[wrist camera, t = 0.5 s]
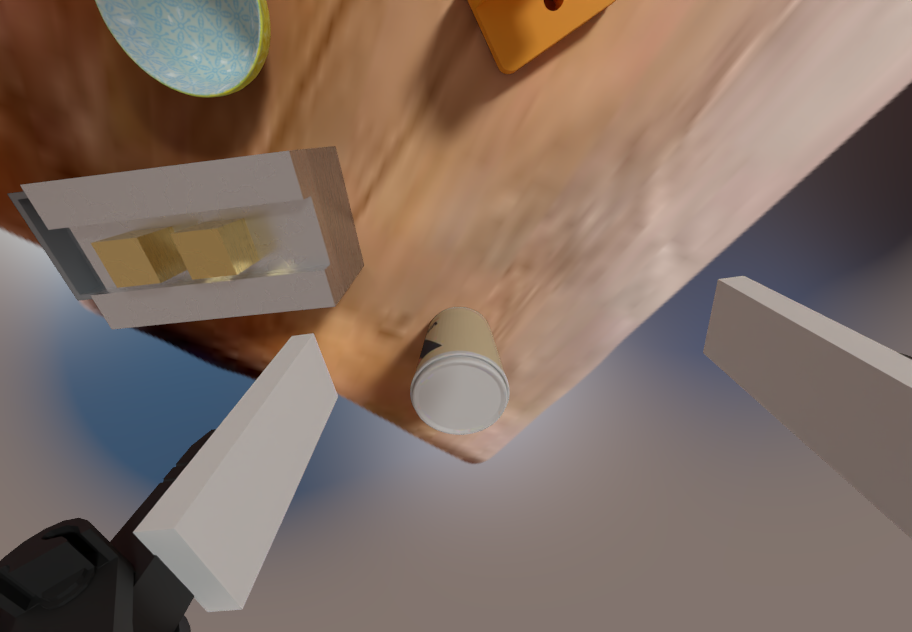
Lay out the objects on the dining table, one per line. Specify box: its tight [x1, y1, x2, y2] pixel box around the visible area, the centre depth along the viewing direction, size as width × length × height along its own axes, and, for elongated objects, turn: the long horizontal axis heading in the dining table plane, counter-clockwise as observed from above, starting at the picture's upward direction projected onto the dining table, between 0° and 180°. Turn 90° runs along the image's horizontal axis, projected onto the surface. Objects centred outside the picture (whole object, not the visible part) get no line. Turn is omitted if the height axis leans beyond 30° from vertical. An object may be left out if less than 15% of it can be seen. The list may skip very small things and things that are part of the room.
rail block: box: [20, 146, 364, 329], centre depth 32 cm, size 12×20×10 cm, turn 96°
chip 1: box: [91, 226, 187, 288], centre depth 28 cm, size 4×4×4 cm
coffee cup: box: [410, 307, 509, 435], centre depth 38 cm, size 9×9×12 cm
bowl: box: [95, 0, 271, 97], centre depth 27 cm, size 11×12×6 cm
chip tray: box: [8, 191, 106, 300], centre depth 36 cm, size 11×12×3 cm
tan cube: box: [170, 218, 260, 280], centre depth 27 cm, size 4×4×4 cm
